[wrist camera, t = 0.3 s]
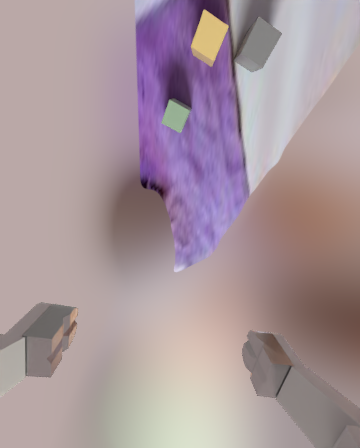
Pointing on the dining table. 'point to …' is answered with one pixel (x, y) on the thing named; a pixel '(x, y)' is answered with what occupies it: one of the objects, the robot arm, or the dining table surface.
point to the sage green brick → (176, 115)
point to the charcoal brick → (257, 45)
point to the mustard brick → (208, 38)
